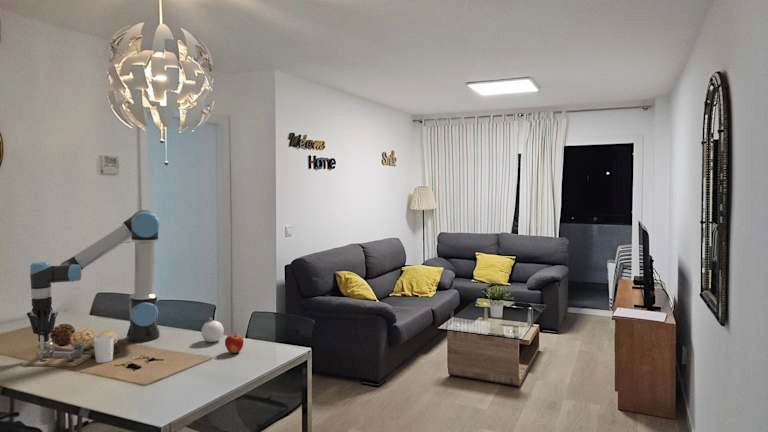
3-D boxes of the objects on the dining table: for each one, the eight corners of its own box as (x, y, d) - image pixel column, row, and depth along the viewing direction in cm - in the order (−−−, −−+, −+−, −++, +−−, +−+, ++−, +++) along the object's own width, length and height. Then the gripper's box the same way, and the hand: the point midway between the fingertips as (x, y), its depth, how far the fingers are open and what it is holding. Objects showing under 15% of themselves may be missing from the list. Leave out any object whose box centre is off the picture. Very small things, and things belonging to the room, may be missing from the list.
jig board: (91, 357, 243) (91, 354, 243) (74, 366, 231) (74, 364, 231) (41, 356, 244) (41, 353, 244) (22, 365, 232) (22, 363, 232)
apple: (234, 348, 254) (234, 328, 254) (247, 351, 250) (246, 330, 249) (221, 353, 247) (221, 332, 247) (234, 356, 243) (233, 335, 242)
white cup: (118, 358, 241) (117, 336, 240) (105, 364, 234) (104, 341, 233) (104, 356, 243) (103, 335, 242) (90, 362, 236) (89, 340, 235)
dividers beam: (84, 355, 242) (83, 342, 241) (72, 362, 233) (71, 349, 233) (40, 354, 243) (40, 342, 242) (27, 361, 234) (27, 348, 234)
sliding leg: (55, 354, 242) (54, 341, 242) (42, 360, 234) (42, 347, 233) (48, 354, 242) (48, 341, 242) (36, 360, 234) (35, 347, 234)
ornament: (197, 343, 262) (197, 319, 261) (209, 337, 272) (208, 314, 271) (216, 345, 259) (216, 320, 258) (227, 339, 269) (227, 315, 268)
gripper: (61, 295, 242) (63, 346, 244) (33, 294, 243) (35, 346, 244) (50, 299, 234) (52, 352, 236) (21, 298, 235) (24, 351, 237)
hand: (44, 349), depth 240 cm, fingers closed
